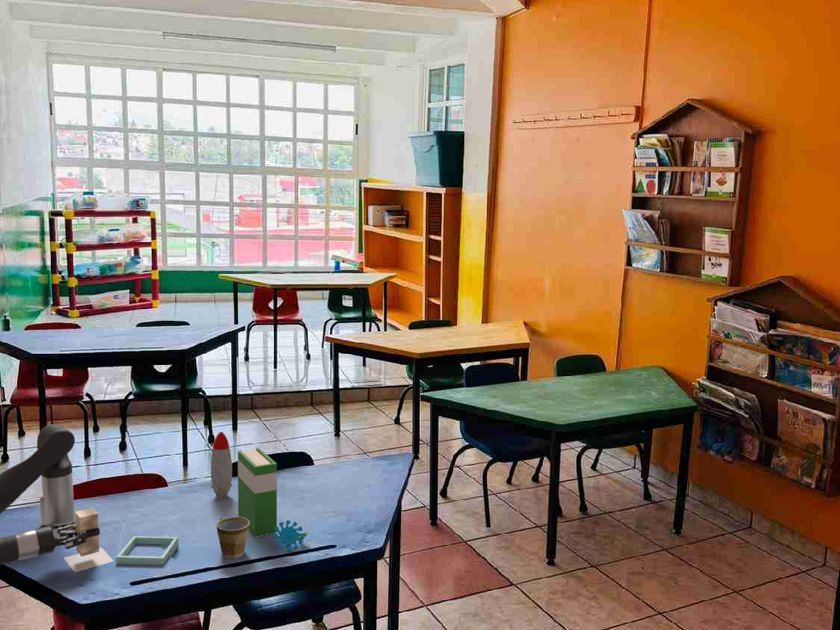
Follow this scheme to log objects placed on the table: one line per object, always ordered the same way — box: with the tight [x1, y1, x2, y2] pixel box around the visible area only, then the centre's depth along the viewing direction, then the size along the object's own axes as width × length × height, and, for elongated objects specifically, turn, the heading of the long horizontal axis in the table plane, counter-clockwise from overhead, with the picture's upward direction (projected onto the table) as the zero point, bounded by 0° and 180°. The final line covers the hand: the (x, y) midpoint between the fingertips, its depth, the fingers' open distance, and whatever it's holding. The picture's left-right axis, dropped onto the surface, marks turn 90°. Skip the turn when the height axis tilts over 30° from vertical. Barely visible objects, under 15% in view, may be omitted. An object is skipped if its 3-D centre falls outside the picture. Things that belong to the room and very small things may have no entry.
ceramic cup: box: [216, 516, 250, 559], centre depth 231 cm, size 13×10×10 cm
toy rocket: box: [210, 431, 233, 500], centre depth 272 cm, size 8×8×25 cm
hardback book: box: [237, 447, 278, 538], centre depth 249 cm, size 18×7×24 cm, turn 31°
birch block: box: [74, 507, 100, 557], centre depth 219 cm, size 5×5×12 cm
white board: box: [63, 547, 114, 573], centre depth 221 cm, size 11×11×2 cm
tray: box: [115, 535, 179, 566], centre depth 226 cm, size 14×14×4 cm
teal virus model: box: [272, 519, 309, 552], centre depth 237 cm, size 11×6×10 cm
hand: (96, 527), depth 220 cm, fingers closed on birch block, 5 cm apart
